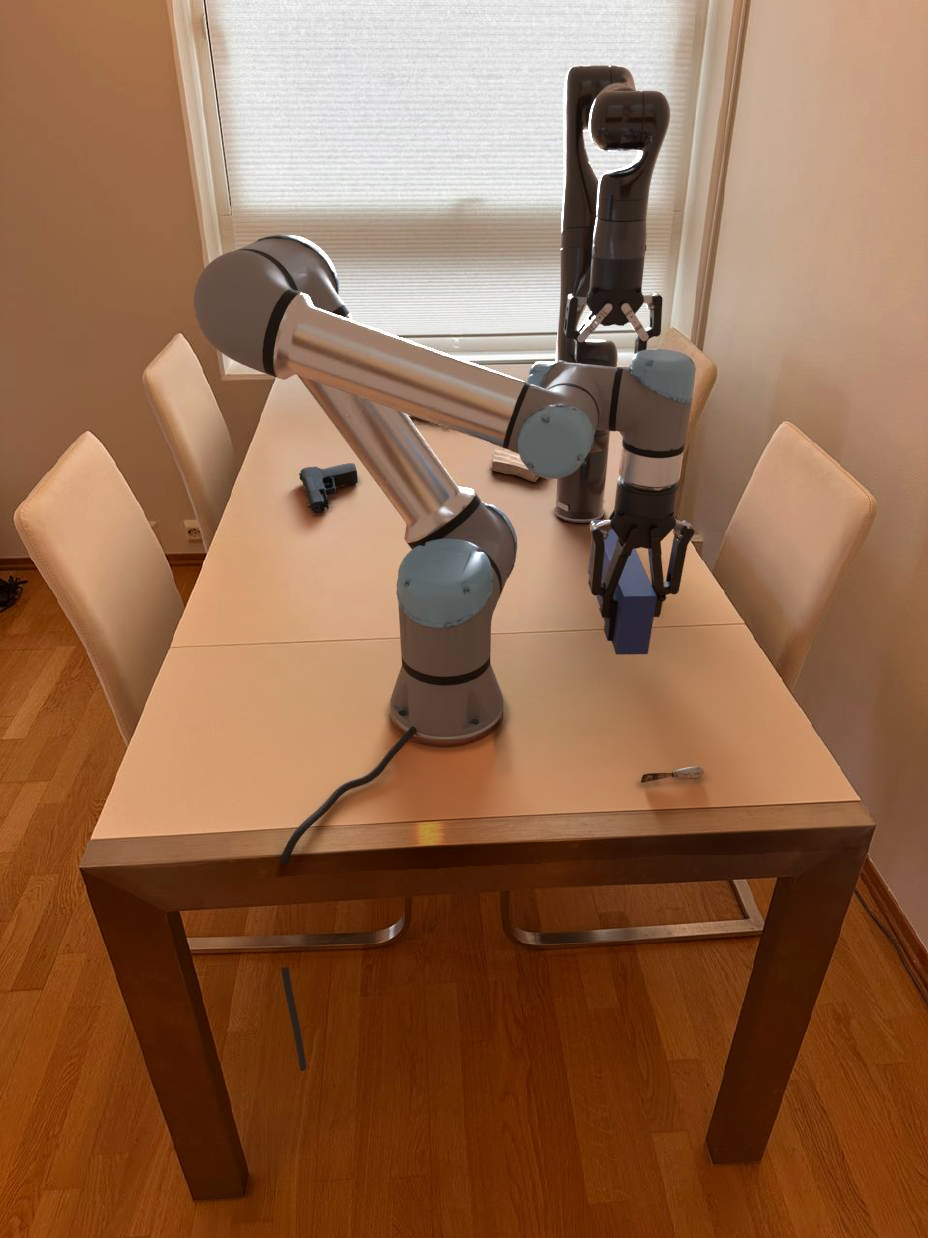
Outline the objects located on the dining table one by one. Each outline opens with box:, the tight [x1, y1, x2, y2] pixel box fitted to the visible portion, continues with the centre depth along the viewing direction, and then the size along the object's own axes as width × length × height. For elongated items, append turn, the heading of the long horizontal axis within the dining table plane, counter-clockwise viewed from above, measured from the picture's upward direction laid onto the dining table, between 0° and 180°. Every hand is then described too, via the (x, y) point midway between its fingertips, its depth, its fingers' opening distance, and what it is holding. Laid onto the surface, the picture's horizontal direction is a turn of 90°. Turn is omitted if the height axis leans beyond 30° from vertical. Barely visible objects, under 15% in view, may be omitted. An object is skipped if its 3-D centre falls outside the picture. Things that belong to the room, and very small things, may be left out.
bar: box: [587, 519, 657, 656], centre depth 128 cm, size 23×4×9 cm, turn 3°
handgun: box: [298, 462, 359, 515], centre depth 181 cm, size 3×18×12 cm
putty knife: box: [640, 765, 705, 784], centre depth 109 cm, size 1×8×2 cm, turn 103°
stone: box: [489, 448, 540, 483], centre depth 192 cm, size 13×12×2 cm
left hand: (626, 635), depth 124 cm, fingers closed on bar, 4 cm apart
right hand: (609, 364), depth 137 cm, fingers open, 8 cm apart
